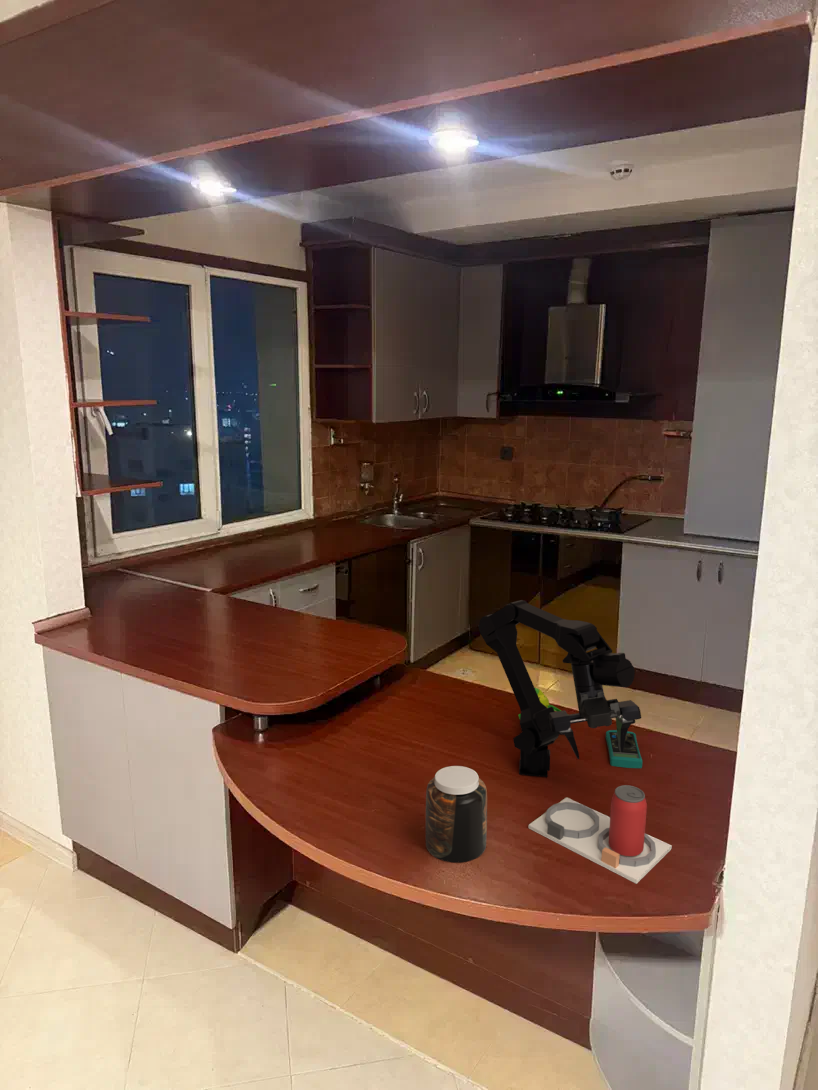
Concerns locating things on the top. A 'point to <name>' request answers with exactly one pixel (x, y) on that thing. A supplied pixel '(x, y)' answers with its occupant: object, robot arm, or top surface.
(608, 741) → the digital multimeter
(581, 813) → the board
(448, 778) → the jar
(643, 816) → the beer can
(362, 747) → the top surface
